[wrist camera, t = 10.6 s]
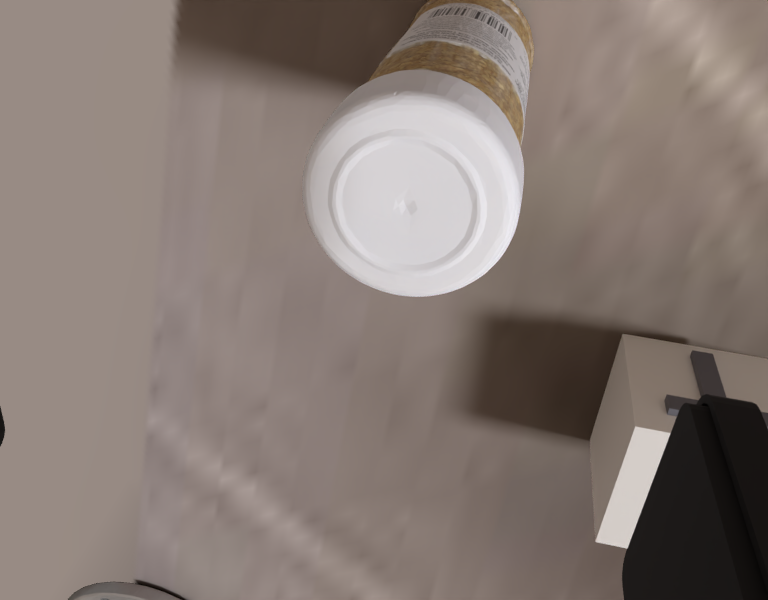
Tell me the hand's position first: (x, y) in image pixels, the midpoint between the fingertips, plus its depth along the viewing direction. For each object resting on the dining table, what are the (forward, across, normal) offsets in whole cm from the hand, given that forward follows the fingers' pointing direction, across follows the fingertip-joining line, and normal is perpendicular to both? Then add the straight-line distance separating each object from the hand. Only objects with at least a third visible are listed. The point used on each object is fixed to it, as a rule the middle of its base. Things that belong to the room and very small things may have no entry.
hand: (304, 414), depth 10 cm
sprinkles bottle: (+20, 0, -1) cm, 20 cm away
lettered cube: (+20, -11, +13) cm, 26 cm away
